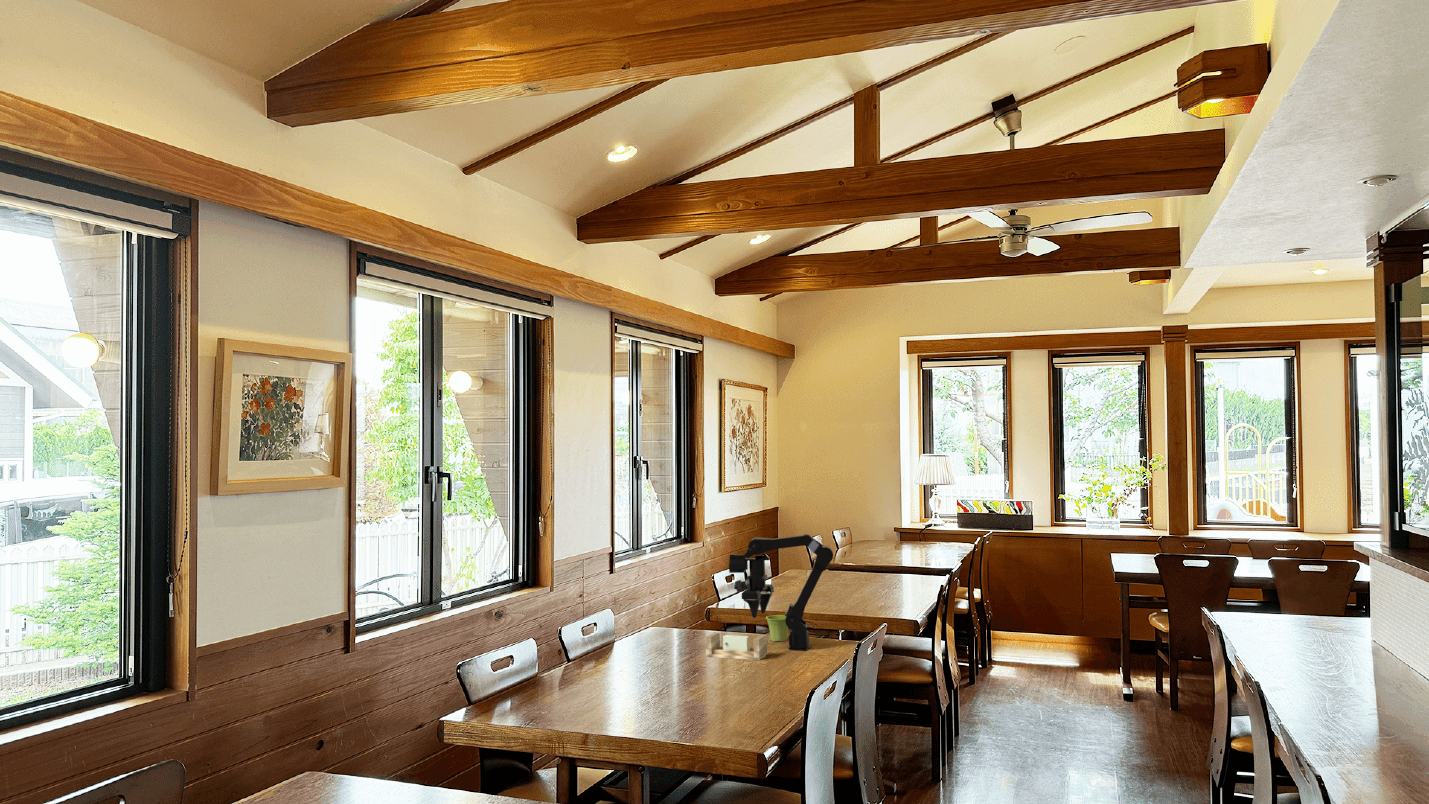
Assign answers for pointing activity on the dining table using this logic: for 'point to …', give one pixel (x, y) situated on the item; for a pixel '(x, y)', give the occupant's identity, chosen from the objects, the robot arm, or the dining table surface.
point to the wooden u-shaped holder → (717, 651)
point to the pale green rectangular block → (736, 643)
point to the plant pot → (777, 627)
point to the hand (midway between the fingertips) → (758, 615)
